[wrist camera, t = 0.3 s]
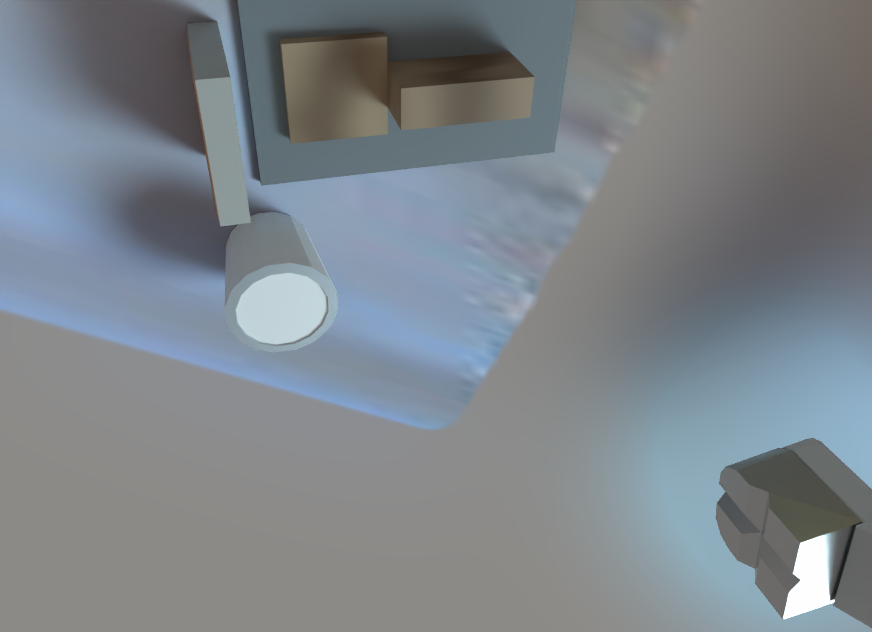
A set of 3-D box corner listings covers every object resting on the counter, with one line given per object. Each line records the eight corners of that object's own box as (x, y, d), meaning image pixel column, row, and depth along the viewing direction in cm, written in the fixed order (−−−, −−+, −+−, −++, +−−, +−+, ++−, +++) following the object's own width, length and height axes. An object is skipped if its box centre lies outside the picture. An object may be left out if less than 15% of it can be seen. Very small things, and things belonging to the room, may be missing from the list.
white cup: (212, 287, 52) (220, 353, 47) (220, 199, 48) (230, 261, 43) (311, 290, 54) (329, 353, 49) (327, 207, 50) (348, 266, 45)
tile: (184, 23, 41) (192, 80, 35) (216, 21, 41) (230, 77, 35) (208, 157, 46) (218, 226, 40) (236, 154, 46) (250, 222, 41)
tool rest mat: (234, -18, 40) (235, -16, 40) (577, -36, 45) (580, -33, 45) (260, 181, 48) (261, 185, 48) (551, 148, 53) (554, 152, 52)
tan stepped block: (512, 23, 46) (538, 46, 43) (504, 116, 49) (527, 144, 47) (279, 39, 42) (289, 65, 39) (288, 138, 46) (299, 169, 43)
